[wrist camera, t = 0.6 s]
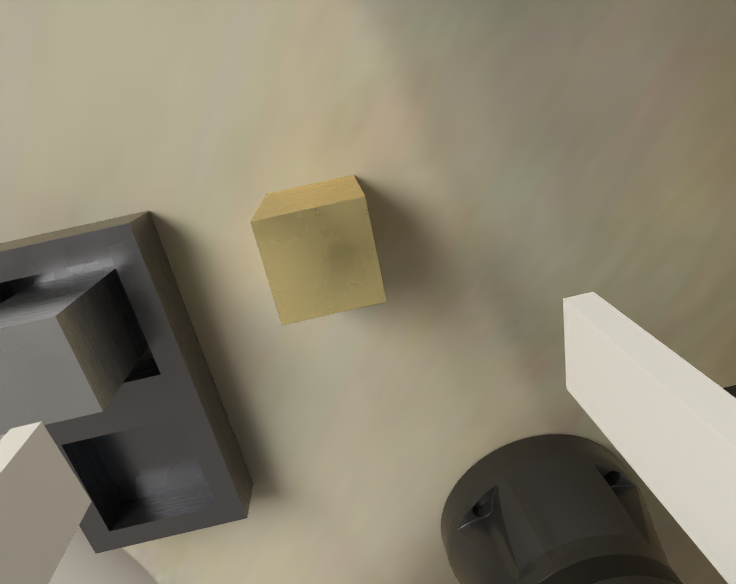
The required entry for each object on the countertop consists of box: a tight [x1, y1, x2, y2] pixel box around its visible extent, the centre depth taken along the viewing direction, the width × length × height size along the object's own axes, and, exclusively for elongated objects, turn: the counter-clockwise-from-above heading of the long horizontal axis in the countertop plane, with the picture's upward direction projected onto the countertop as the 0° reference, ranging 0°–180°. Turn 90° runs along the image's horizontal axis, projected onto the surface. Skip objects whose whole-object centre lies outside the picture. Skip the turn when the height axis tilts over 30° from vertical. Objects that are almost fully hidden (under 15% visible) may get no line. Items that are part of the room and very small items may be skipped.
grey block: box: [0, 266, 149, 435], centre depth 24 cm, size 5×5×7 cm
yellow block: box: [251, 175, 387, 325], centre depth 25 cm, size 5×5×7 cm
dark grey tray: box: [0, 211, 253, 553], centre depth 29 cm, size 20×10×3 cm, turn 12°
